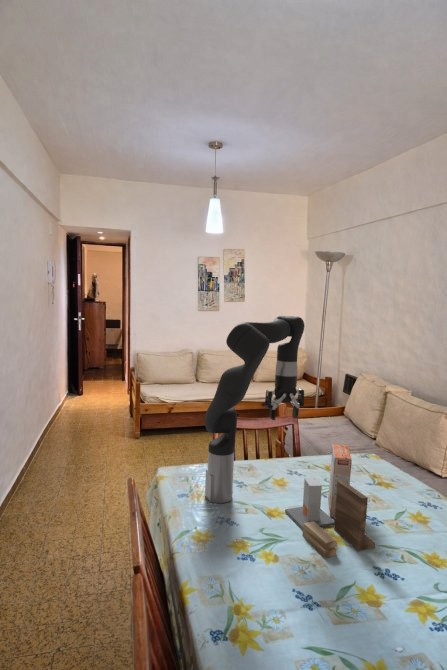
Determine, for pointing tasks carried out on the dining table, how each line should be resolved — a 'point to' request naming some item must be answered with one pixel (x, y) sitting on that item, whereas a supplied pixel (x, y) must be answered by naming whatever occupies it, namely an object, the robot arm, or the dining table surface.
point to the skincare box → (312, 499)
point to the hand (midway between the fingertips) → (283, 418)
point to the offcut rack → (342, 523)
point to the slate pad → (300, 519)
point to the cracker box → (338, 472)
